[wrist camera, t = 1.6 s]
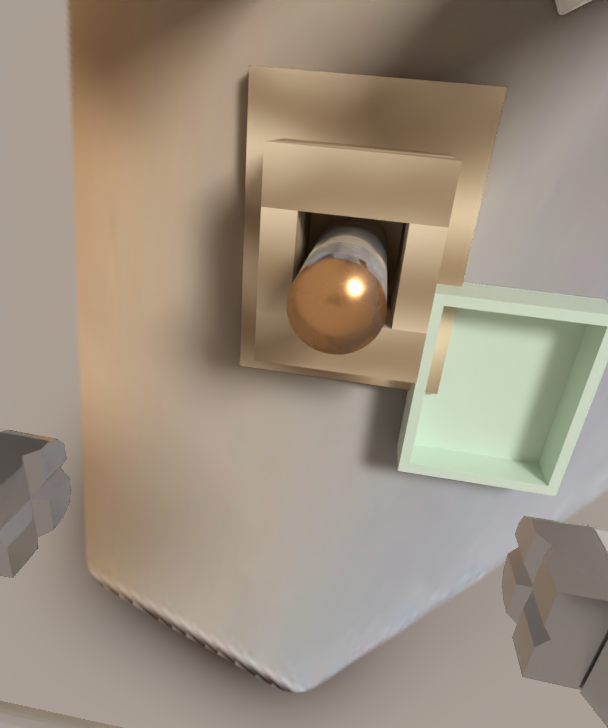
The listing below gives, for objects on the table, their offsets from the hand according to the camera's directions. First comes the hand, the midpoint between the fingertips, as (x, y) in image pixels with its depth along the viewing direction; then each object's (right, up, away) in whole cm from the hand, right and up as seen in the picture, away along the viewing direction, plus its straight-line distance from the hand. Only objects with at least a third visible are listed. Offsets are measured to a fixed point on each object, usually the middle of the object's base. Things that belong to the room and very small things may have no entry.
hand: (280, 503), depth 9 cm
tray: (+11, +2, +21) cm, 24 cm away
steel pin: (+3, +9, +18) cm, 20 cm away
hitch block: (+3, +9, +19) cm, 21 cm away
